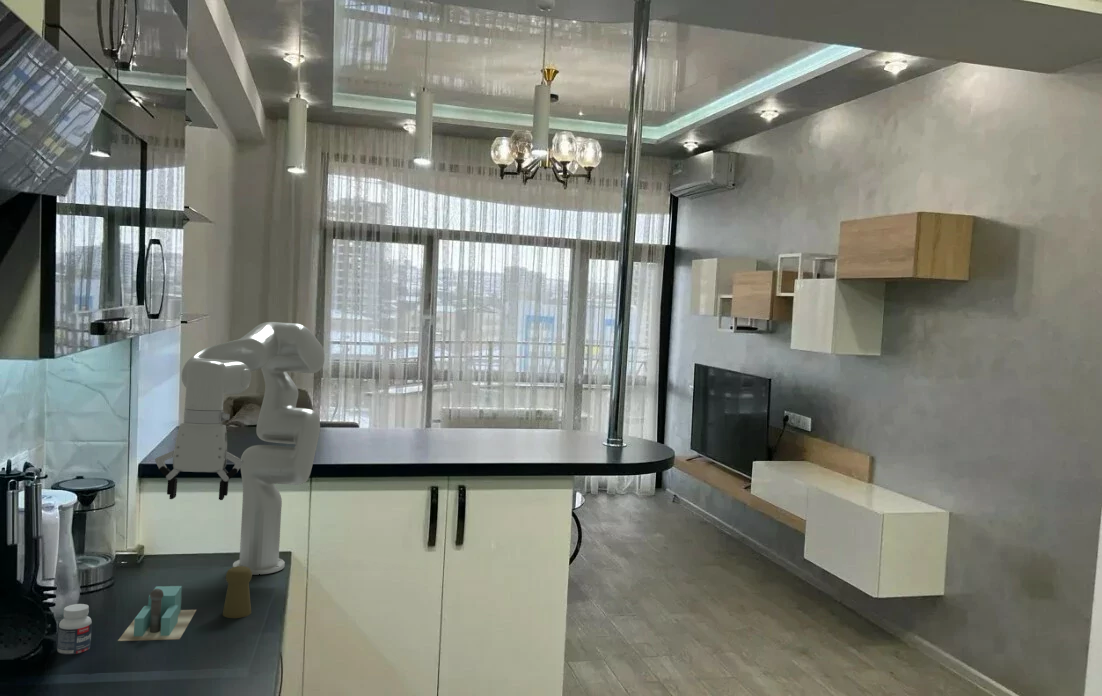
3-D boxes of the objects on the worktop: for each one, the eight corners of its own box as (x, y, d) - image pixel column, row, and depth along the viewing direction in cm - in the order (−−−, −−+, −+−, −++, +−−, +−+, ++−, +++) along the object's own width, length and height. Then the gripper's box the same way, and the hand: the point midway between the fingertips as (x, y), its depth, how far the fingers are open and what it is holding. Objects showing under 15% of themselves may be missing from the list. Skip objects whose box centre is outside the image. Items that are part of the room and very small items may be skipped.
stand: (140, 616, 167) (142, 571, 167) (196, 615, 169) (198, 570, 169) (117, 647, 151) (119, 597, 151) (179, 645, 154) (181, 596, 154)
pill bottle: (78, 661, 144) (80, 613, 144) (50, 659, 144) (52, 611, 144) (96, 650, 149) (98, 603, 149) (69, 648, 150) (71, 601, 149)
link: (151, 612, 166) (152, 586, 166) (184, 611, 168) (185, 585, 168) (133, 636, 154) (135, 608, 154) (169, 635, 155) (170, 607, 155)
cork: (241, 625, 165) (244, 573, 165) (215, 621, 166) (218, 569, 166) (257, 615, 171) (260, 565, 171) (232, 612, 172) (235, 562, 172)
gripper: (248, 418, 174) (242, 496, 174) (163, 415, 170) (157, 494, 169) (244, 421, 167) (238, 502, 167) (154, 417, 163) (148, 501, 162)
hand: (197, 498), depth 168 cm, fingers open, 9 cm apart
